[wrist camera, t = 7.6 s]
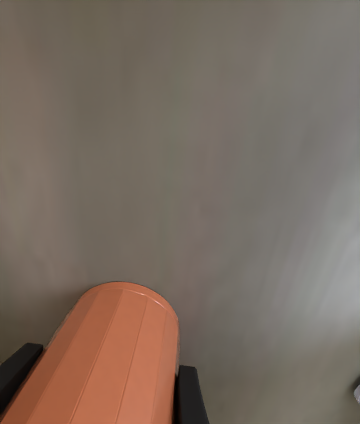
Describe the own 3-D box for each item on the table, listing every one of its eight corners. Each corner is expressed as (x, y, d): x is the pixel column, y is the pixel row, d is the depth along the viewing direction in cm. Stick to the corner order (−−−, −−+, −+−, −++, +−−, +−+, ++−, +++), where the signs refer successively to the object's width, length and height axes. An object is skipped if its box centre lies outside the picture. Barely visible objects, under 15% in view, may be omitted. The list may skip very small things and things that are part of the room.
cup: (194, 300, 12) (199, 629, 4) (162, 377, 13) (122, 706, 6) (82, 266, 11) (-142, 557, 4) (63, 350, 13) (-113, 661, 5)
